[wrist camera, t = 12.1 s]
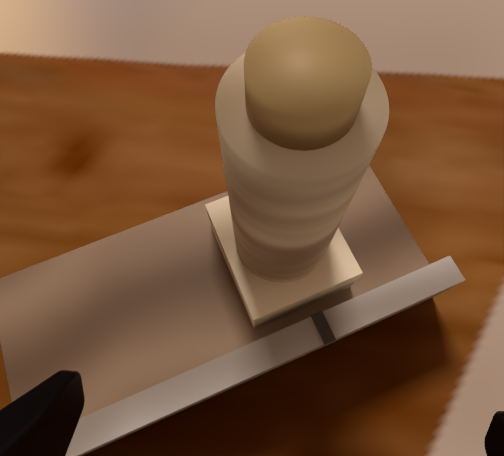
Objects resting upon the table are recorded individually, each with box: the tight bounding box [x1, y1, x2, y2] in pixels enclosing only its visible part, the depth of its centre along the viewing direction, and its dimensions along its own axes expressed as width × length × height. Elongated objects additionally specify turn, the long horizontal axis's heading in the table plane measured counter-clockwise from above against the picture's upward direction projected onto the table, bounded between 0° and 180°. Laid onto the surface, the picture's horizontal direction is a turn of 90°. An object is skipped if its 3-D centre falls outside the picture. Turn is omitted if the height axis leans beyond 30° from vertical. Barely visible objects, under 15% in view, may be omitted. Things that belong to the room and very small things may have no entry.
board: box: [0, 166, 465, 456], centre depth 19 cm, size 9×20×4 cm, turn 113°
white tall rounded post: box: [205, 17, 389, 329], centre depth 14 cm, size 6×5×13 cm
